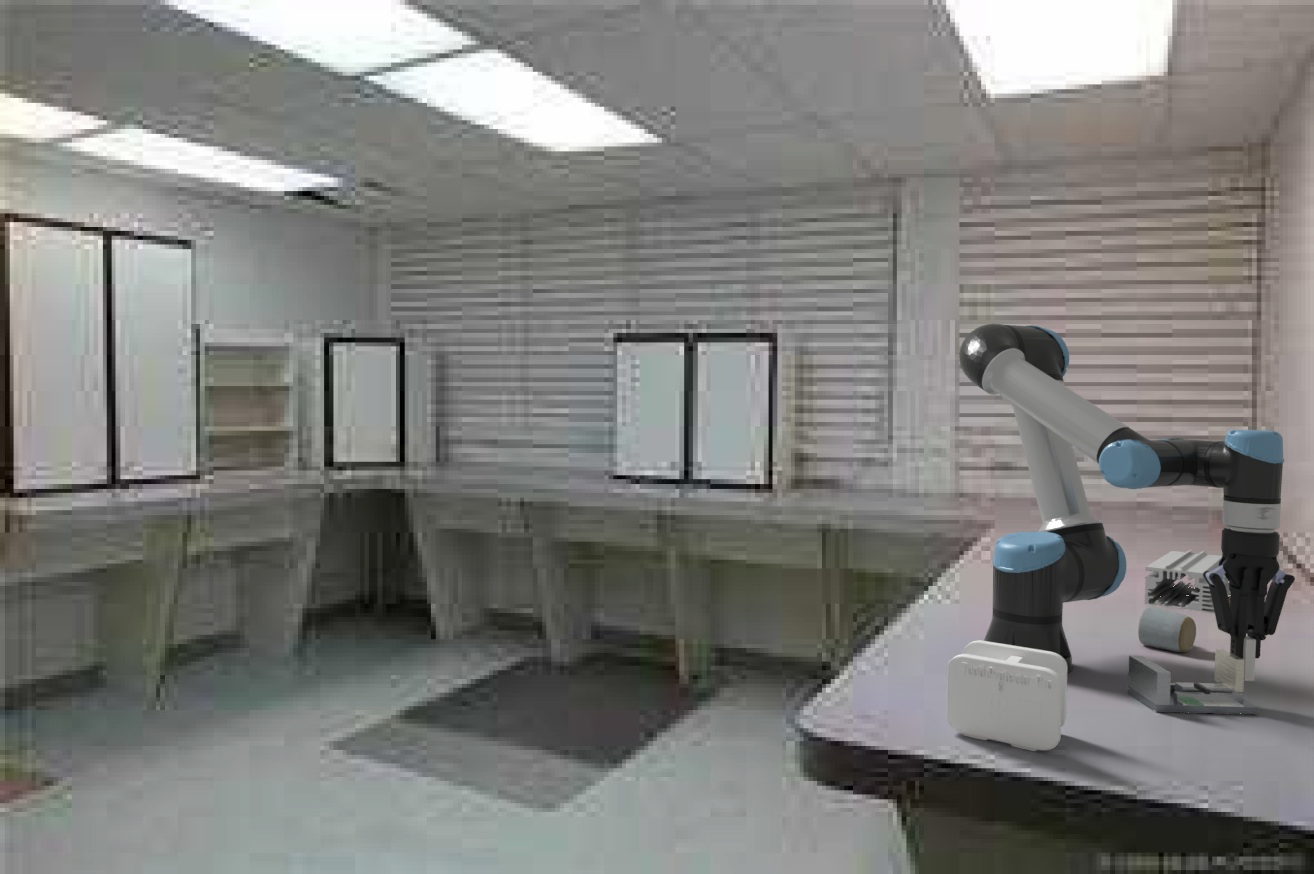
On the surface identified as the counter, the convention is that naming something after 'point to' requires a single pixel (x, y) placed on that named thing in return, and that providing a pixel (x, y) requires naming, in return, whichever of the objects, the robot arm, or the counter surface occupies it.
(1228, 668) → the sliding gauge carriage
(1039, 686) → the cable organizer
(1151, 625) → the grey tan cylinder
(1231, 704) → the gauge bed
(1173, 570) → the aluminum extrusion profile
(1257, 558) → the robot arm
